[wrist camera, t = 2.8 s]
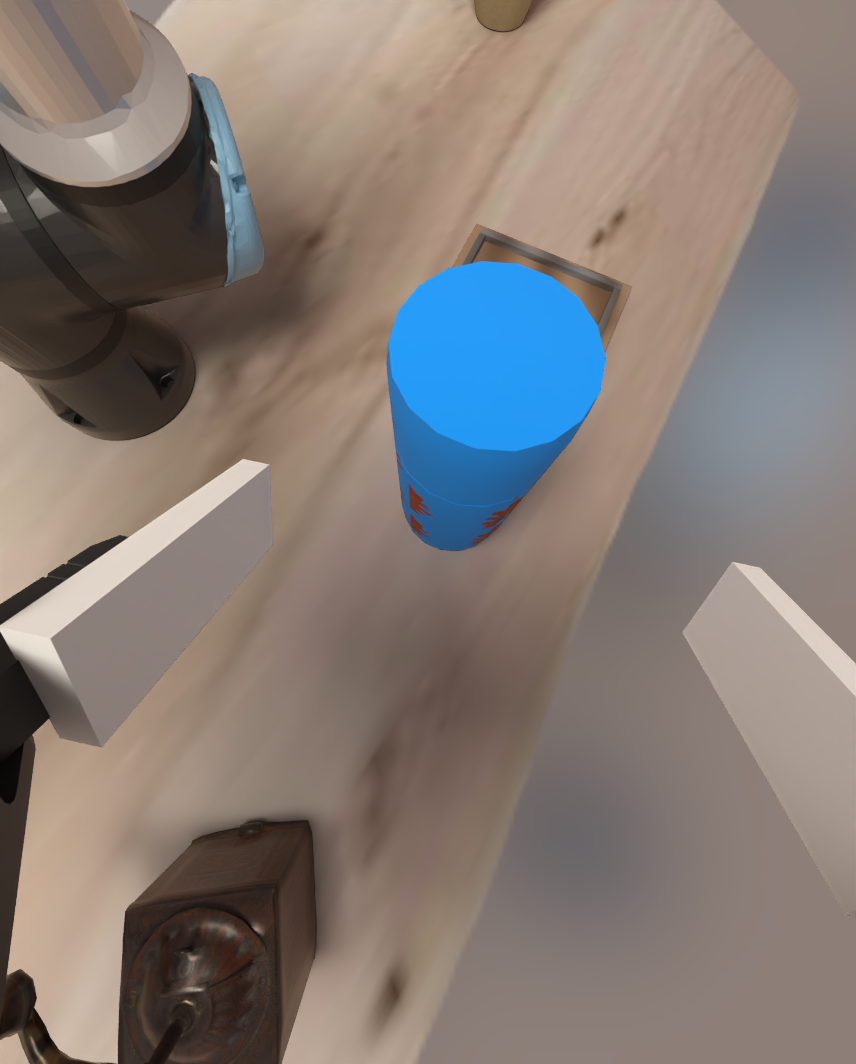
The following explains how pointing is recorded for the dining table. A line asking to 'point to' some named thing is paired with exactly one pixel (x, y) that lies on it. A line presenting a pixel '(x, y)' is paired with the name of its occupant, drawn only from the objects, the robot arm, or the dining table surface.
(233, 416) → the dining table surface
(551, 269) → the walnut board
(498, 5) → the plant pot
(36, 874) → the dining table surface
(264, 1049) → the manual coffee grinder
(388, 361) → the thermos
